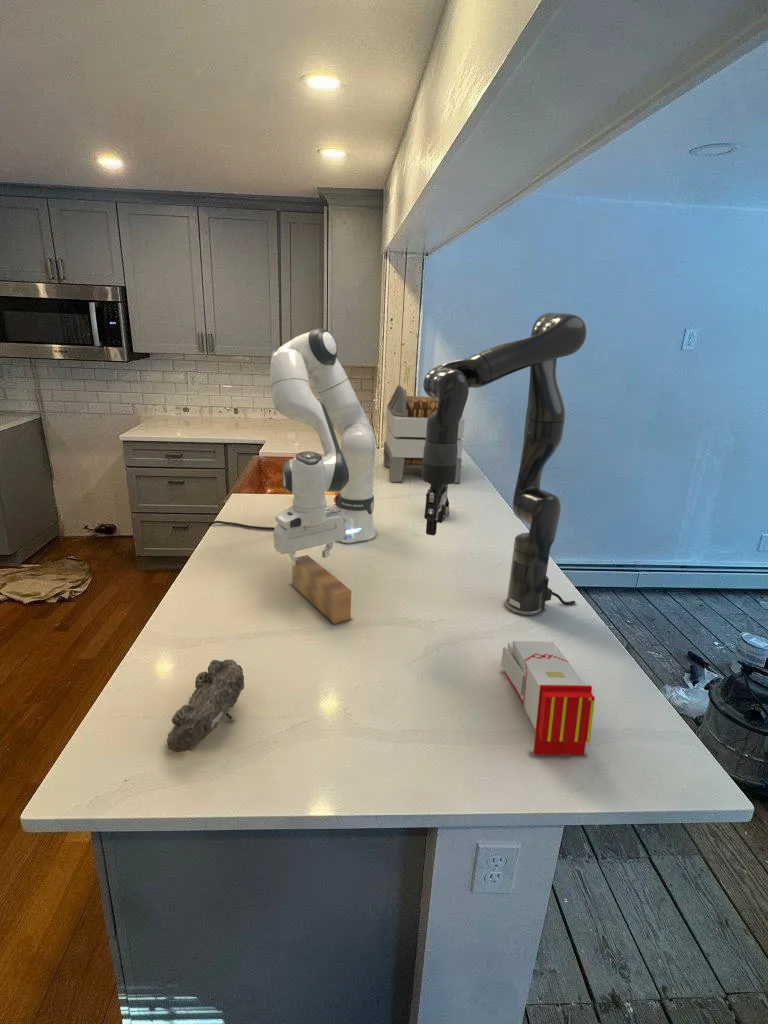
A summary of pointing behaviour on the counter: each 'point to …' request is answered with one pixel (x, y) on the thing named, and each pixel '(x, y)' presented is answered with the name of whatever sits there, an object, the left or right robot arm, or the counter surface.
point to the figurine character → (445, 509)
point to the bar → (322, 589)
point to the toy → (550, 696)
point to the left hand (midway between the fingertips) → (310, 560)
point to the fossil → (206, 705)
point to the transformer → (410, 433)
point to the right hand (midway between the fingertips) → (434, 528)
